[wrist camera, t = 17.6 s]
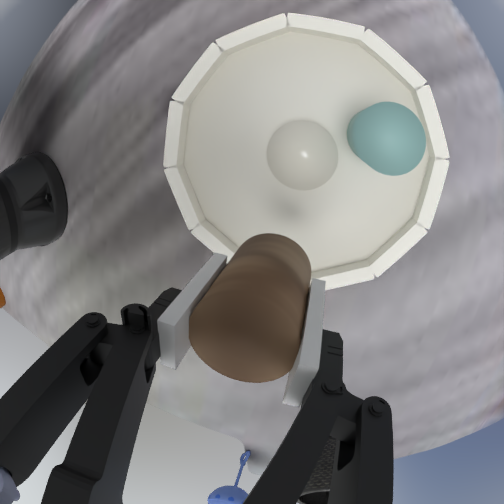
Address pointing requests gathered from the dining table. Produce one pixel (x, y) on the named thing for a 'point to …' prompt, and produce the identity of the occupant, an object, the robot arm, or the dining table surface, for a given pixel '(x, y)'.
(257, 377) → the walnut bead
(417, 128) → the teal cylinder
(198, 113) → the round cream tray
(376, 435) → the robot arm
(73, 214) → the dining table surface
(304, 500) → the planter
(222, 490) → the baby rattle
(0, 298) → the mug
